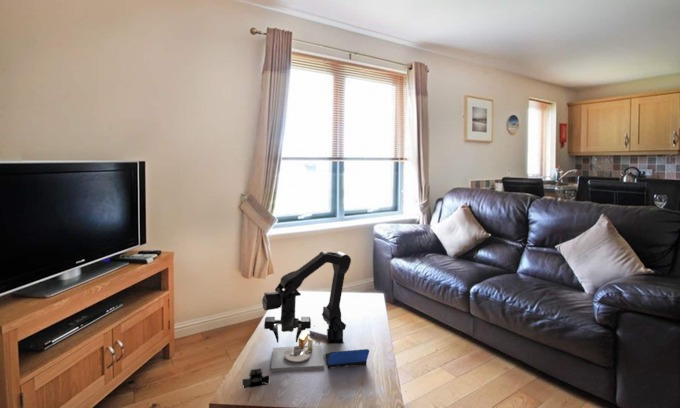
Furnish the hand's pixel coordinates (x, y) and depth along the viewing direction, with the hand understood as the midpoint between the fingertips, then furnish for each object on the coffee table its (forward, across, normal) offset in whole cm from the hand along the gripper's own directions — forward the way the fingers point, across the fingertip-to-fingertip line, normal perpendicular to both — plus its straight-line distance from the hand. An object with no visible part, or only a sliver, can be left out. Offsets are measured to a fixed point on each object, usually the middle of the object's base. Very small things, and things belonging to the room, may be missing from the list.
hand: (287, 342), depth 152 cm
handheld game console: (+4, +23, -11) cm, 26 cm away
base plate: (+4, +4, -7) cm, 9 cm away
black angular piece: (+5, -10, -20) cm, 23 cm away
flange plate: (+2, +5, -5) cm, 7 cm away
